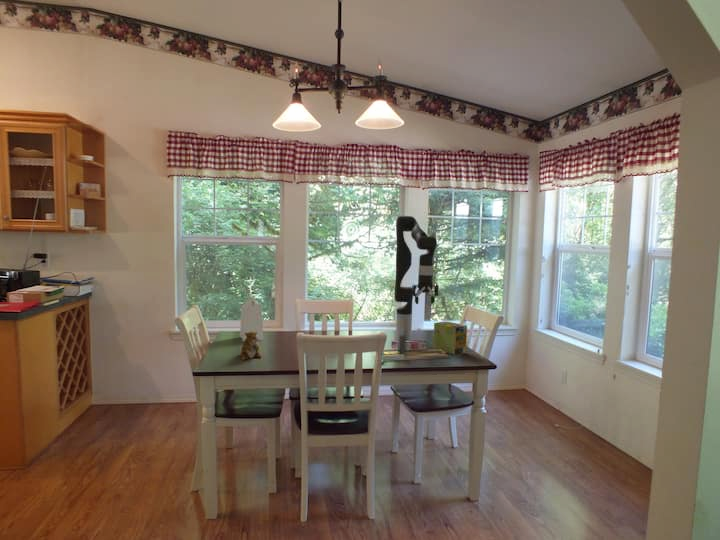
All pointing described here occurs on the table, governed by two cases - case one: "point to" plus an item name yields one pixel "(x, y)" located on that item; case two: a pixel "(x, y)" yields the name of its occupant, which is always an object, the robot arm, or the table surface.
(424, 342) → the candy bar box
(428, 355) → the slot board
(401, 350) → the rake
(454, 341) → the protein box
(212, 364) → the table surface
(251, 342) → the stuffed squirrel
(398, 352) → the chip
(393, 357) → the tray
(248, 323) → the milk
